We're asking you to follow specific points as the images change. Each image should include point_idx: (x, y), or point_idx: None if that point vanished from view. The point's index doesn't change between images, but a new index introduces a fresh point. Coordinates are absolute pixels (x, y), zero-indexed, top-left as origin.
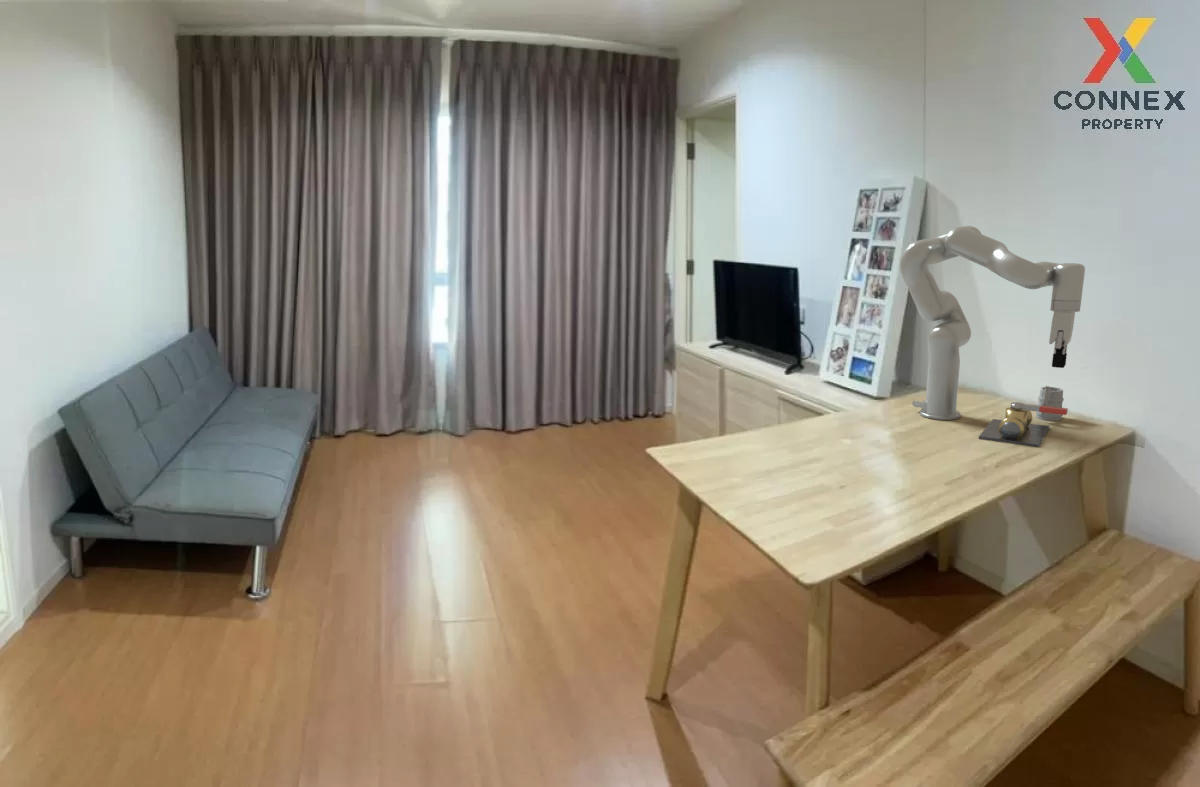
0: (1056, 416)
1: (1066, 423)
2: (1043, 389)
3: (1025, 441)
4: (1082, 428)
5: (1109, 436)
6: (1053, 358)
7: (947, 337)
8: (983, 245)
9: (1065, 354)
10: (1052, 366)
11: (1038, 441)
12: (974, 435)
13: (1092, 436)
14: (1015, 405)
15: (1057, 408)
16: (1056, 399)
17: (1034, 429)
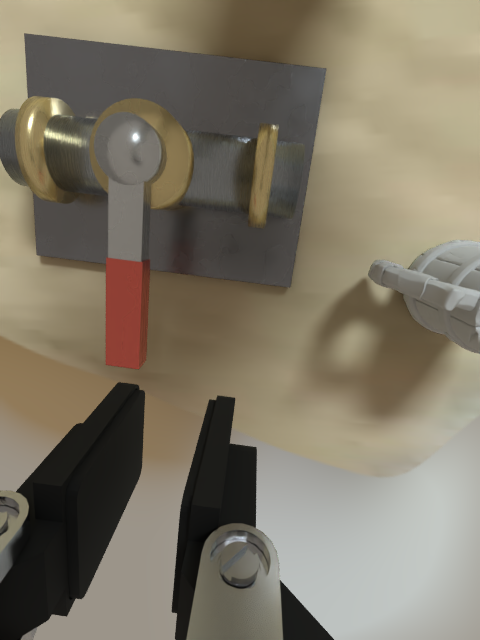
0: (410, 312)
1: (379, 338)
2: None
3: (48, 212)
4: (328, 379)
5: (261, 437)
6: (74, 443)
7: None
8: None
9: (174, 603)
10: (119, 386)
11: (71, 252)
12: (70, 15)
13: (242, 398)
14: (95, 140)
15: (117, 331)
16: (449, 327)
17: (221, 238)
